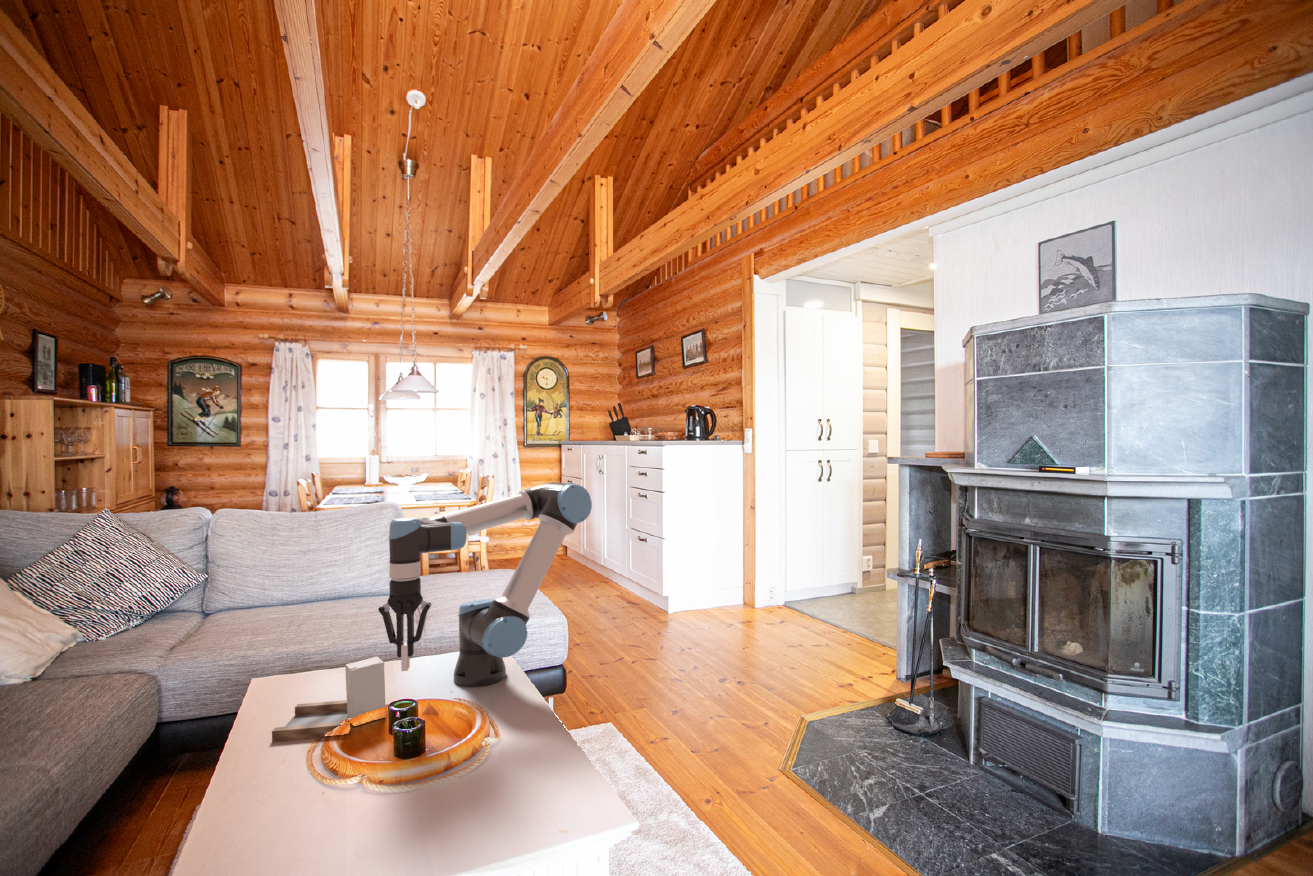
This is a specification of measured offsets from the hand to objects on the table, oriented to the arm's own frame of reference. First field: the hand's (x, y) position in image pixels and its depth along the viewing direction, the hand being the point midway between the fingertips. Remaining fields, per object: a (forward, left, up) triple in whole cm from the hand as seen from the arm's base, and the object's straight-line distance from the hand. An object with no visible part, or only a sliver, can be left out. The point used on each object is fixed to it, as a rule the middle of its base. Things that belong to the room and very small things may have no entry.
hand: (405, 669), depth 163 cm
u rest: (+20, 0, -12) cm, 24 cm away
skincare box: (+10, 0, -13) cm, 16 cm away
